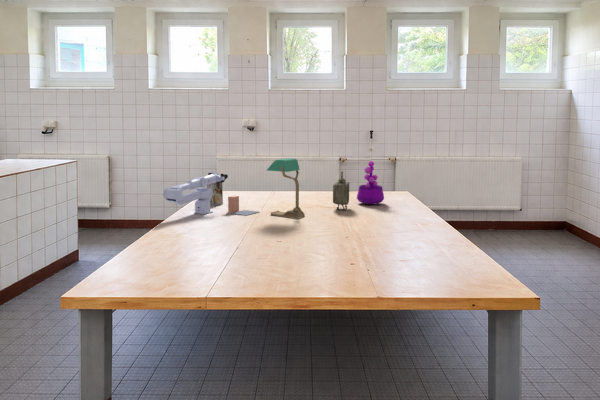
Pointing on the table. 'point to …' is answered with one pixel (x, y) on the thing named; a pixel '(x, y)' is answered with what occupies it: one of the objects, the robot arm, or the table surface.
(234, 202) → the block
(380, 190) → the decorative plant
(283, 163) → the banker's lamp
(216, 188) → the coffee box
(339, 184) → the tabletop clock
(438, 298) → the table surface
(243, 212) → the mat
